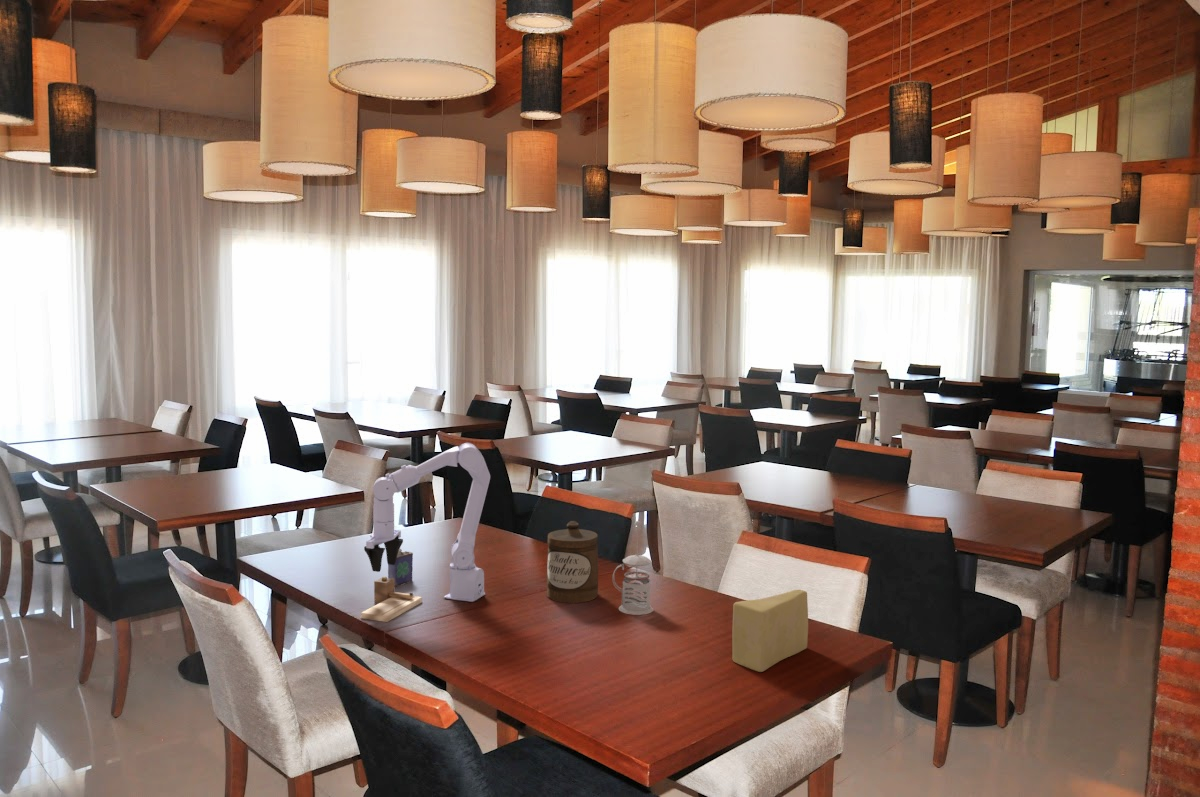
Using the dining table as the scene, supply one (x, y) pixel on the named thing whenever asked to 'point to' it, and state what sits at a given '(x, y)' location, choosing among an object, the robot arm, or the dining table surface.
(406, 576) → the flask
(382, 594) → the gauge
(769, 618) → the cheese
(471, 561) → the robot arm
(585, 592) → the wooden container
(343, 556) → the dining table surface
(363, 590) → the dining table surface
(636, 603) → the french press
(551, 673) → the dining table surface
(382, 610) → the board
